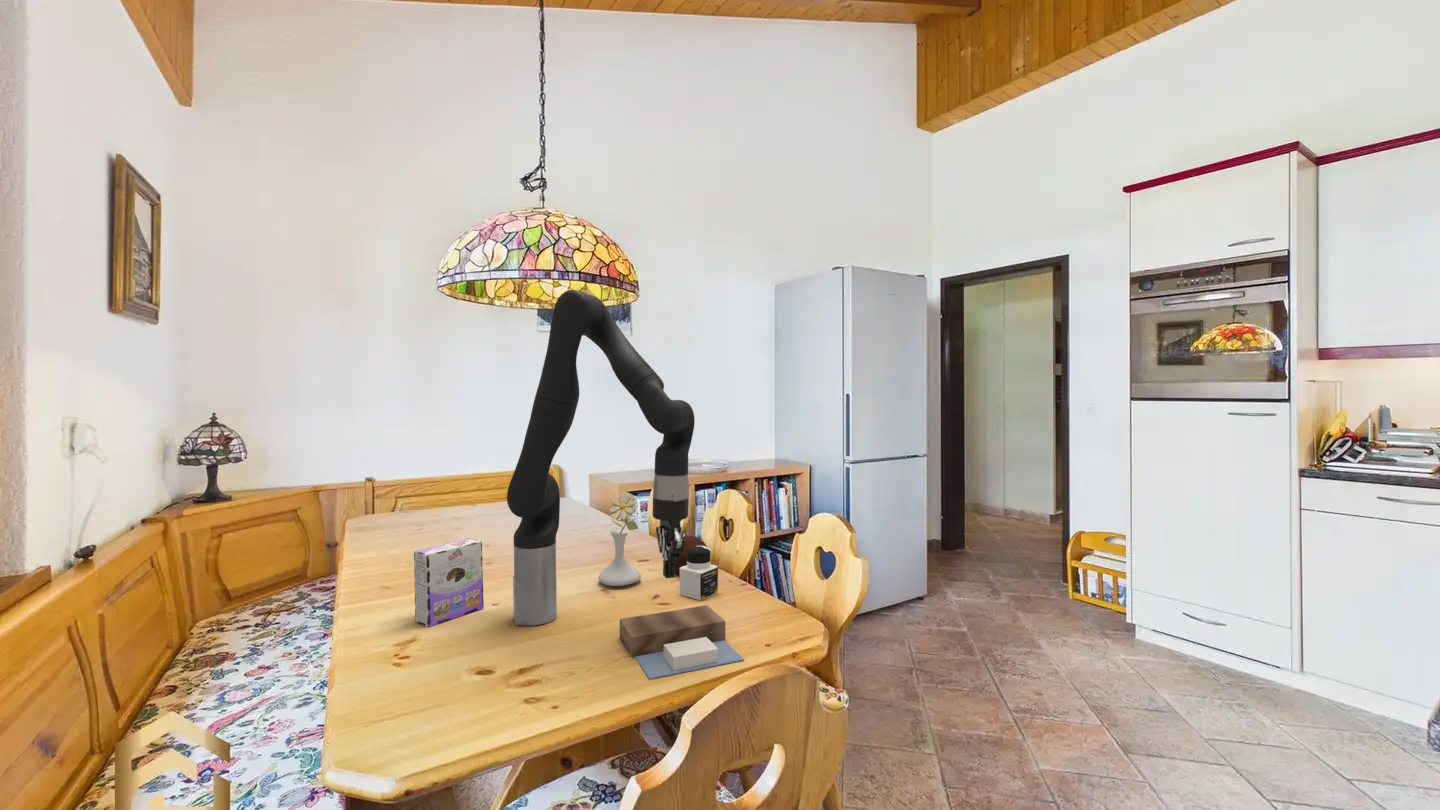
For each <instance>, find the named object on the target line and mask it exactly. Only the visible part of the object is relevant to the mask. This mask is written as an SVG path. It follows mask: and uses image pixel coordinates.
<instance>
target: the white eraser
mask: <svg viewBox="0 0 1440 810" xmlns="http://www.w3.org/2000/svg"><path fill="white" fill-rule="evenodd" d="M664 658H665V660H666V661H667V662H668V664H669V665H670V666H671V668H672V669H673V670H674V671H675V670H680V669H685V668H689V667H694V666H699V665H704V664H709V663H714V662H718V648H717V647H716V646H715V645H714V644H713V643H712V642H711V641H710V640H709V639H708V638H707V637H703V638H697V639H692V640H686V641H681V642H675V643H670V644H664Z"/></svg>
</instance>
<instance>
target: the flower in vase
mask: <svg viewBox="0 0 1440 810" xmlns="http://www.w3.org/2000/svg"><path fill="white" fill-rule="evenodd" d="M608 506H609V507H608V508H609V516H610V519H611V522H612V523H613V524H615V525H616V526H618V527H620V528H621V529H616V530H615V529H614V530H611V531H610V532H609V534H610V536H612V539H613V542H614V548H615V549H614V550H615V553H614V559H613V560H612V562H610V563H609V564H608V565H607V566H606V567H605V568H603V569H602V571H600V573H599V574H598V578H597V579H598V581H599V582H600V583H601V584H603V585H607V586H611V587H623V586H628V585H629V586H630V585H632V584H634V583H637V582H638V581H639V580H640V578H642V574H641V572H640V571H639V569H638V568H636V567H635V566H634V565H633V564H631V563H630V562H629V561H627V560H626V558H625V552H624V551H625V549H624V548H625V541H626V537H627V536H628V534H629V533H630V532H629V531H632V530H633V531H635V530H638V529H639V527H638V525H637V524H636V522H635V520H629V519H630V518H631V517H633V514H634V513H635V512H636V510H637V508H638V504H637V497H635V495H634V494H631V493H630V492H627V491H625V492H623V493H622V492H619V494H618V495H614V498H612V499H611V503H609V505H608ZM615 520H616V521H617V522H616V521H615ZM624 520H625V523H624V525H623V526H622V524H621V523H619V522H621V521H624ZM626 527H627V530H626V529H625V528H626Z"/></svg>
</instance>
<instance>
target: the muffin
mask: <svg viewBox="0 0 1440 810" xmlns="http://www.w3.org/2000/svg"><path fill="white" fill-rule="evenodd" d="M680 538H681V539H685V546H684V548H683V551H682V554H681V557H680V559H677V560H675V576H677V577H678V576H679V577H680V567H683V566H686V565H688V564H687V550H688V548H690V547H693V546H705V547H708V546H707V545H706V543H705V542H704V541H703V540H702V539H701V538H699V537H698V536H695V535H684V536H681V537H680Z"/></svg>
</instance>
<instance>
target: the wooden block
mask: <svg viewBox="0 0 1440 810" xmlns="http://www.w3.org/2000/svg"><path fill="white" fill-rule="evenodd" d="M703 637H707V638H708V639H709V640H710V641H711V642H716V641H722V640H725V641H726V620H724V618H723V617H721V616H720V615H719V614H718V613H717V612H716V611H715V610H713V609H712V607H710V606H709V605H708V604H707V605H700V606H694V607H687V608H681V609H675V610H667V611H662V612H661V611H660V612H656V613H649V614H644V615H638V616H630V617H624V618H619V640H621V642H622V643H623V645H624V647H625V649H626V651H628V654H629V655H630V656H631V658H635V656H641V655H646V654H651V653H657V652H662V651H664V644H670V643H675V642H681V641H686V640H692V639H697V638H703Z"/></svg>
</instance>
